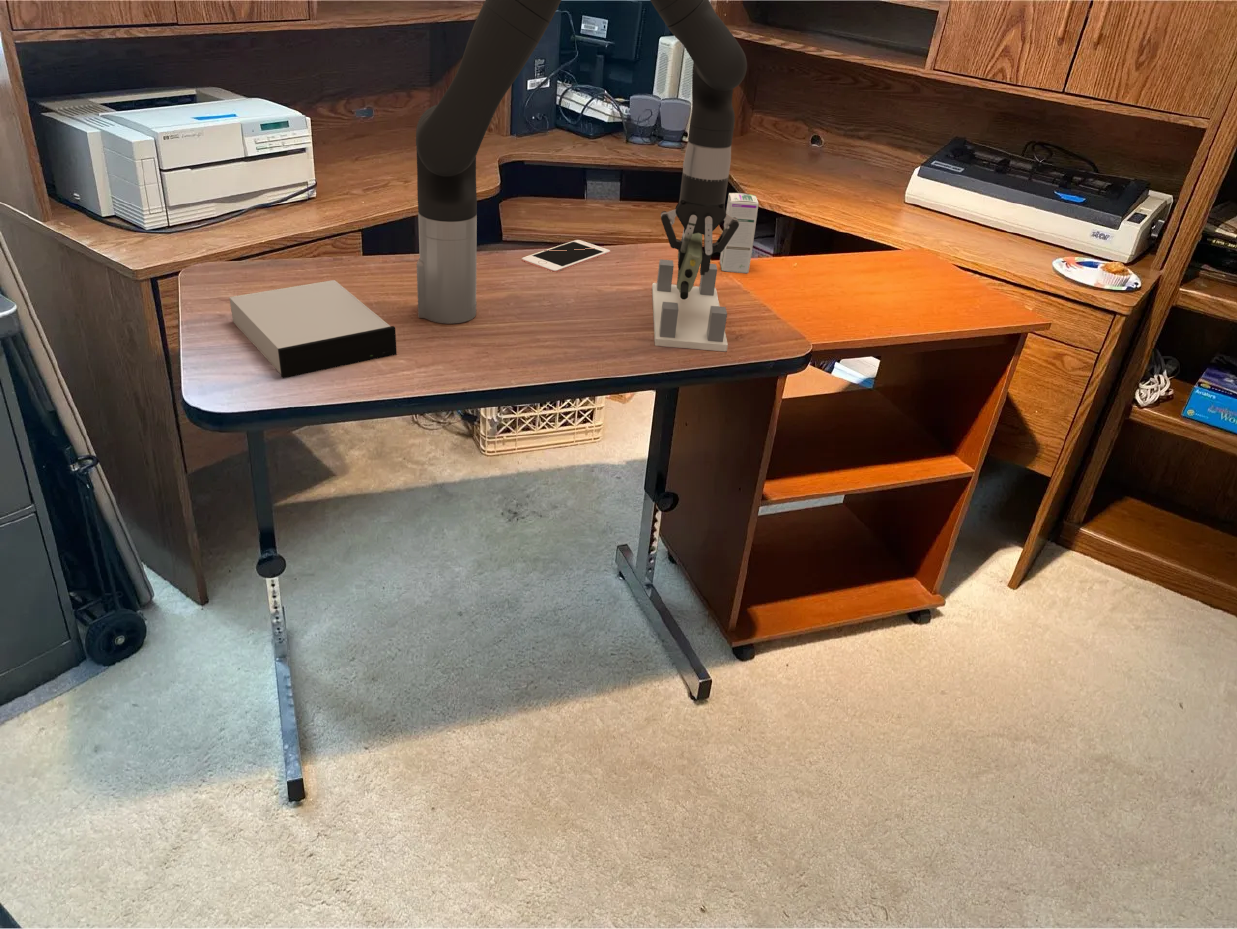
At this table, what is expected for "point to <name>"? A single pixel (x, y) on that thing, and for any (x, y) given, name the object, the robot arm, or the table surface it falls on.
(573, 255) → the cell phone
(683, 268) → the handheld radio
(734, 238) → the syrup box
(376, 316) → the disc drive
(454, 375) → the table surface
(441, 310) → the robot arm
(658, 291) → the rack
